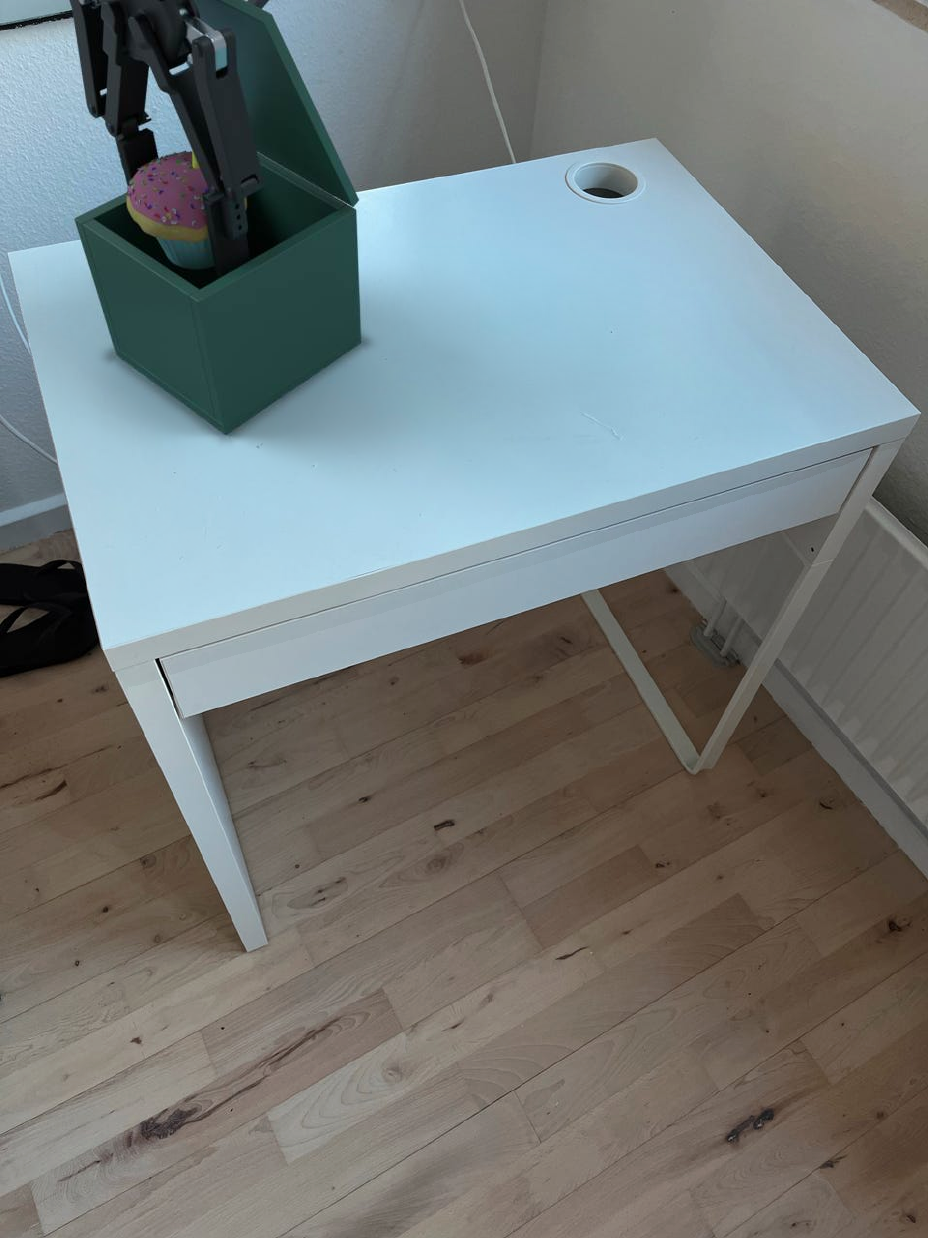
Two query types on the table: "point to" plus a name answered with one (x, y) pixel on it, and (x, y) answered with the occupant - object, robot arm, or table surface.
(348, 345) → the cool box
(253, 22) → the cool box lid
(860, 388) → the table surface
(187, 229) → the cupcake
